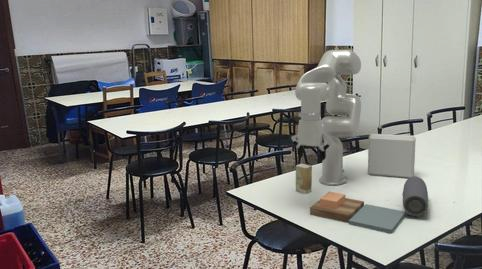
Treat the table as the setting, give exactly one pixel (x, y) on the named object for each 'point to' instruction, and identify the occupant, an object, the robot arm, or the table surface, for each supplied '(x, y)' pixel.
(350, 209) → the wooden board
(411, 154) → the bevelled white case
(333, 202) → the tile
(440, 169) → the table surface
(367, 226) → the mat
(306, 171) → the skincare box
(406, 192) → the bluetooth speaker
